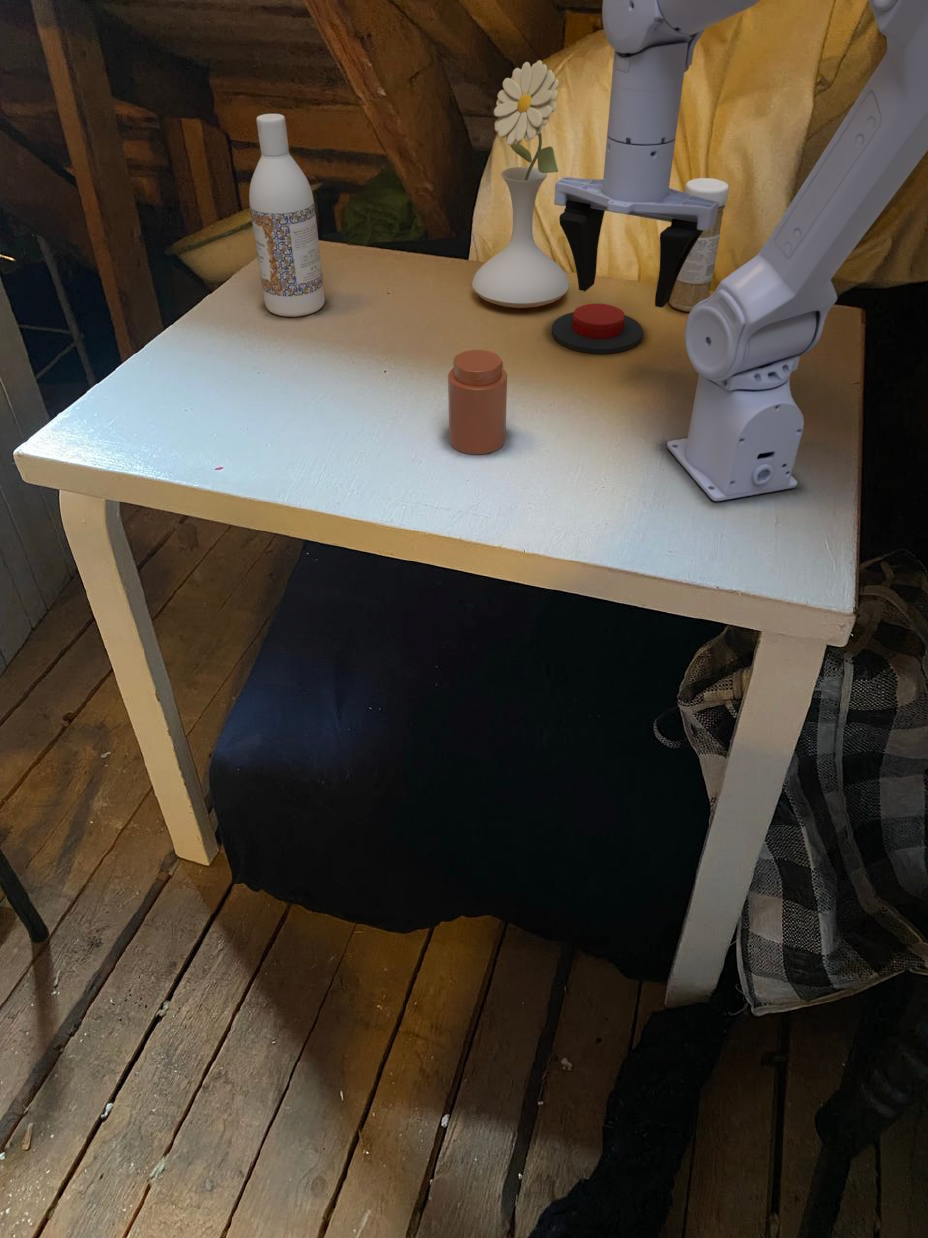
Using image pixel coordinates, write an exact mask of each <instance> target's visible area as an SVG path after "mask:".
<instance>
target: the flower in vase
mask: <svg viewBox="0 0 928 1238" xmlns="http://www.w3.org/2000/svg"><path fill="white" fill-rule="evenodd" d="M511 75H512V76H511V77H506V78H504V80H503V81H502V88H503V89H501V90H500V91H499V92H498V93H497V100H496V107H495V108H494V109H493V115H494V116H495V117H496V118H497V119H496V120H495V121H494V131H495V132H496V133H498V138H505V143H506V145H507V146H509V147H510V148H511V150H513V152H515V153H516V154H517V155H518V156H519V157H521V158H522V159H523V160H525V161H526V162H527V163H530V164H529V166H516V167H514V166H513V167H510V168H506V169H504V170H502V172H501V173H500V174H501V177H502V179H503V180H504V182H505V184H506V185H507V188H508V191H509V195H510V200H511V209H512V227H511V230H512V231H511V236H510V239H509V241H508V243H507V245H505V247H504V248H502V249H501V250H500V251H499V252H498V253H496V254H495V255H493V256H492V257H491V258H490V259H489V260H487V261H485V262H484V263H483V265H481V267H480V268H479V269H478V270H476V272H475V273H474V277H473V278H472V282H471V286H472V289H473V290H474V292H475V293H476V294H477V295H478V297H480V298H481V299H482V300H484V301H486V302H488V303H491V304H494V305H498V306H501V307H506V308H512V309H513V308H515V309H525V308H526V309H527V308H528V309H530V308H536V307H537V308H538V307H540V306H545V305H550V304H552V303H555V302H557V301H558V300H560V299H562V297H564V296H565V294H566V292H567V291H568V290H569V287H570V282H569V278H568V276H567V273H566V272H565V271H564V270H563V268H562V267H561V266H560V265H559V264H558V263H557V262H555V261H554V260H553V258H551V257H550V256H549V255H547V254H546V253H545V252H544V251H543V250H542V249H541V248H540V247H538V245H537V244H536V242H535V238H534V233H533V221H534V210H535V204H536V200H537V195H538V193H539V189H540V188H541V186H542V184H543V183H544V181H545V180H546V179H547V177H548V174H552V173H558V172H559V168H558V164H557V161H556V156H555V151H554V148H553V146H546V147H543V148H542V146H543V138H542V137H543V136H542V127H545V126H547V124H548V123H549V120H550V117H551V115H552V114H553V113H554V112H555V111H556V110H557V106H558V105H557V102H556V100H557V98H558V95H559V91H558V88H559V85H560V83H559V82H560V81H559V80H558V79H556V75H555V74H554V72H553V70H552V69H549V70H548V66H547V65H546V64H545V63H543V61H542V60H540V59H539V60H537V61H536V62H534V63H533V64H532V65H531V64H530V62H528V61H525V62H524V63H522V67H521V68H519V67H516V68H514V69H513V70H512V74H511ZM536 136H537V138H538V139H537V140H538V144H537V145H538V146H537V150H536V152H535V154H534V157H533V158H532V153H531V152H530V151H529V150H528V149H527V148H526V147H525V146H523V145H522V144H521V142H522V141H523V140H524V141H525V142H526V143H528V142H530V141H531V140H533V139H534V138H535V137H536ZM536 161H537V167H534V165H535V164H536Z"/></svg>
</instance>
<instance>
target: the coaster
mask: <svg viewBox="0 0 928 1238" xmlns="http://www.w3.org/2000/svg"><path fill="white" fill-rule="evenodd" d="M573 314H574V311H572V312H569V313H566V314H563V315H561V316H559V317H558V318H556V319H555V320H554V321H553V323H552V324H551V335H552V338H553V339H554V340H555V342H556V343H558V344H559V345H560V346H563V347H565V348H567V349H570V350H572V351H576V352H581V353H586V354H595V355H597V354H598V355H607V354H617V353H621V352H625V351H628V350H631V349H633V348H635V347H636V346H638V345H639V344H640V343H641V341H642V339H643V337H644V328H643V327H642V325H641V324H640V322H639V321H638V320H636V319H635V318H633V317H631V316H629V315H625V314H624V318H625V321H624V328H623V331H622V333H621V334H619V335H618V336H615V337H612V338H607V339H592V338H587V337H584V336H581V335H579V334H577V333H576V332H575V331H574V330H573V327H572V318H573Z"/></svg>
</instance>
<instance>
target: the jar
mask: <svg viewBox="0 0 928 1238" xmlns="http://www.w3.org/2000/svg"><path fill="white" fill-rule="evenodd" d="M452 364H453V368H451V369H450V370H449V372H448V373H447V391H448V393H447V394H448V395H447V397H448V441H449V443H450V446H451V447H452V448H453V449H455V450H456V451H458V452H461V453H463V454H468V455H478V456H479V455H488V454H491V453H494V452H496V451H499V450H500V449H501V448H502V447H503V446H504V445H505V443H506V437H507V436H506V435H507V434H506V433H507V398H508V396H507V395H508V373H507V371H506V370H505V369H504V362H503V360H502V358H501V356H500V355H499V354H498V353H495V352H493V351H490V350H486V349H470V350H466V351H462V352H460V353H457V354H456V355H455V356H454V358H453V363H452Z"/></svg>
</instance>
